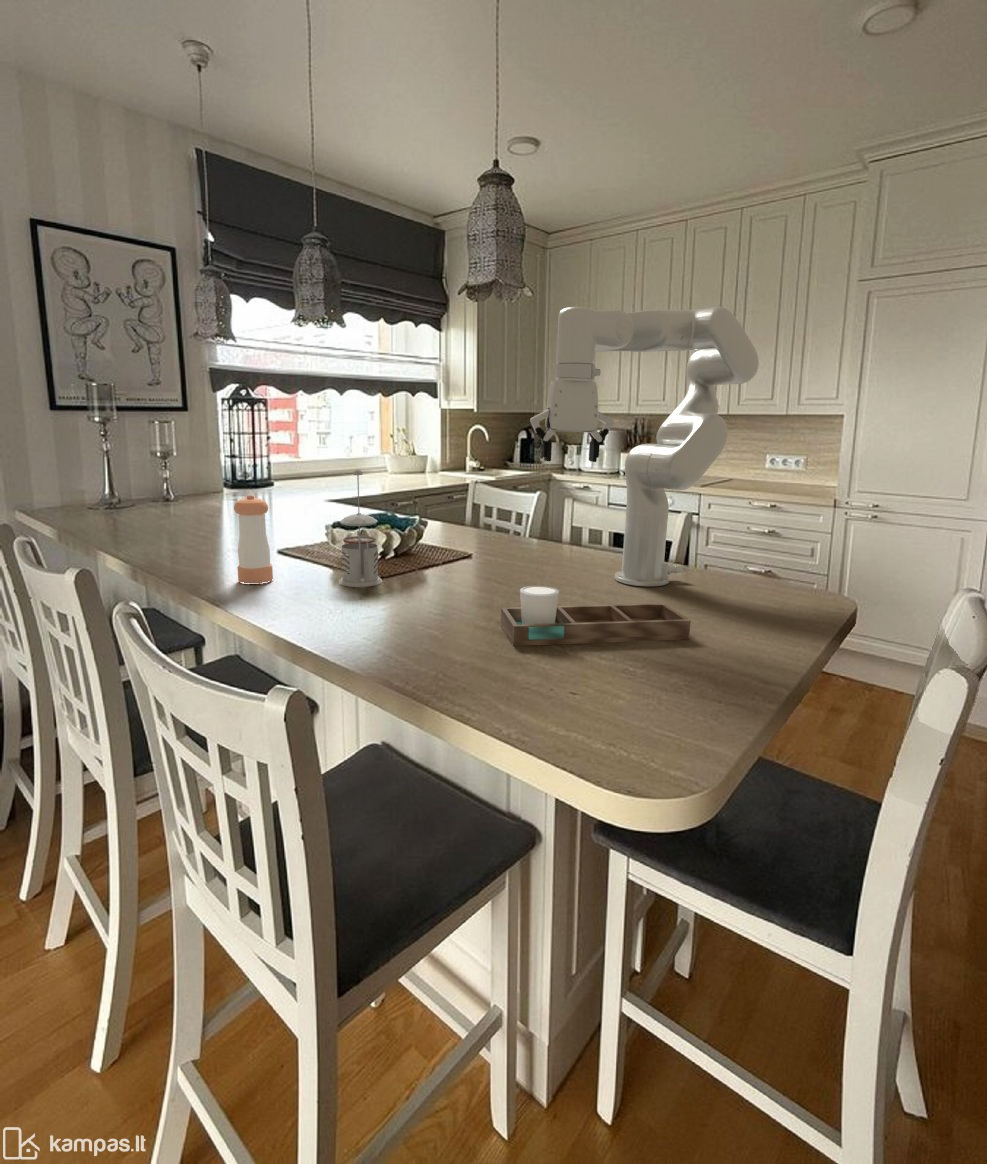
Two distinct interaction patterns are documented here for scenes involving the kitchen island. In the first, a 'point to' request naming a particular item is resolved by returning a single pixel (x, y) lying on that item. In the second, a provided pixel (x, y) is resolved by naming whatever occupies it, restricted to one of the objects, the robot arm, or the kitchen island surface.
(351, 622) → the kitchen island surface
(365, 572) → the french press
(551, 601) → the white cup
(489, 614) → the kitchen island surface
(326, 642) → the kitchen island surface
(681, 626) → the rack
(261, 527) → the pepper shaker
